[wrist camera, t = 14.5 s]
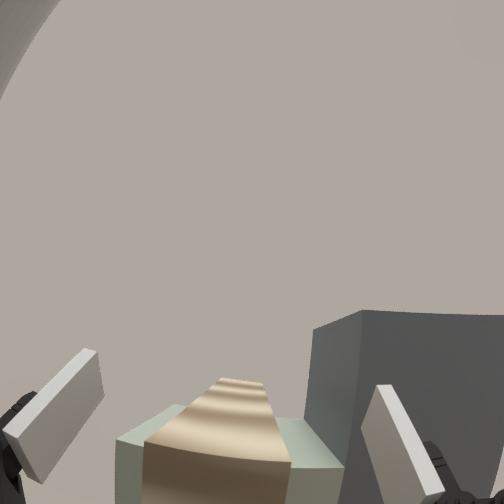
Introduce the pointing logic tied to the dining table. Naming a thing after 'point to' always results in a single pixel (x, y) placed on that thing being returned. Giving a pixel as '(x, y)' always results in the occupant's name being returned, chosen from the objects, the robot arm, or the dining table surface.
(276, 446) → the wooden bar
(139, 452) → the two-tone stepped block
